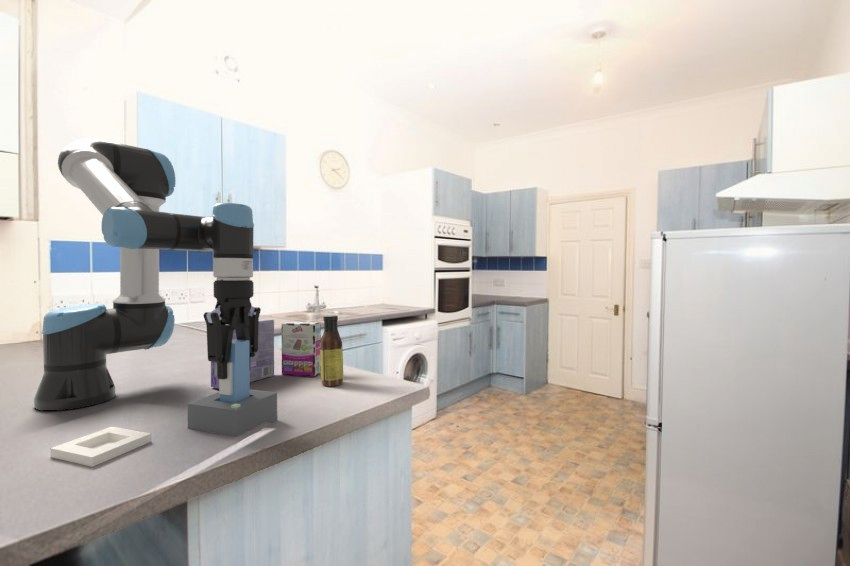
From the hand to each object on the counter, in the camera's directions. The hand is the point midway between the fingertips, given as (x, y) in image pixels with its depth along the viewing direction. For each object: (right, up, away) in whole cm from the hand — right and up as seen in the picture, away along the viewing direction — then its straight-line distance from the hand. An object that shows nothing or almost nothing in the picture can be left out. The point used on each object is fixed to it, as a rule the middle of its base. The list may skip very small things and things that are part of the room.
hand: (234, 390), depth 85 cm
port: (0, -8, 0) cm, 8 cm away
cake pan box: (-13, -7, +34) cm, 37 cm away
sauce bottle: (+13, -7, +32) cm, 35 cm away
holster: (-17, -8, -13) cm, 23 cm away
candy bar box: (+1, -6, +42) cm, 43 cm away
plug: (0, -4, 0) cm, 4 cm away
